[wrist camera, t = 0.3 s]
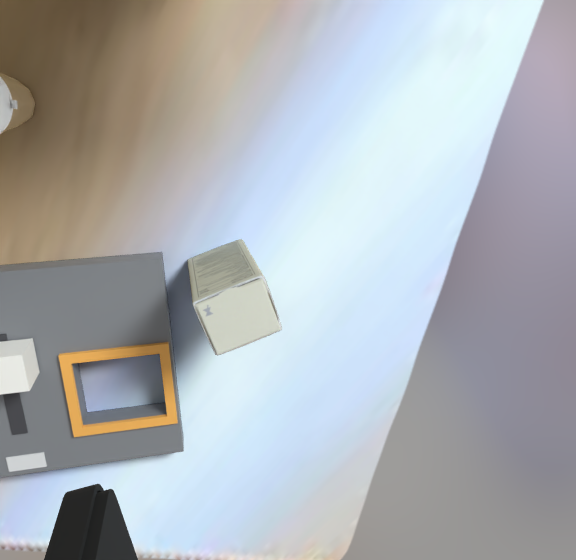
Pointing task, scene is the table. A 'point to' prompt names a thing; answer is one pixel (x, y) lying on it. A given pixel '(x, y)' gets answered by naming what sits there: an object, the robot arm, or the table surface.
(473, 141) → the table surface
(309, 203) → the table surface
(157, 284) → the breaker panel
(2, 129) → the milkshake
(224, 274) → the box
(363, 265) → the table surface
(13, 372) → the block
